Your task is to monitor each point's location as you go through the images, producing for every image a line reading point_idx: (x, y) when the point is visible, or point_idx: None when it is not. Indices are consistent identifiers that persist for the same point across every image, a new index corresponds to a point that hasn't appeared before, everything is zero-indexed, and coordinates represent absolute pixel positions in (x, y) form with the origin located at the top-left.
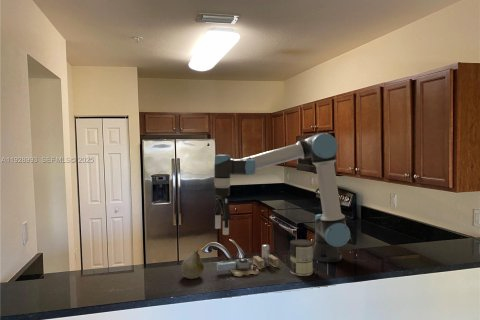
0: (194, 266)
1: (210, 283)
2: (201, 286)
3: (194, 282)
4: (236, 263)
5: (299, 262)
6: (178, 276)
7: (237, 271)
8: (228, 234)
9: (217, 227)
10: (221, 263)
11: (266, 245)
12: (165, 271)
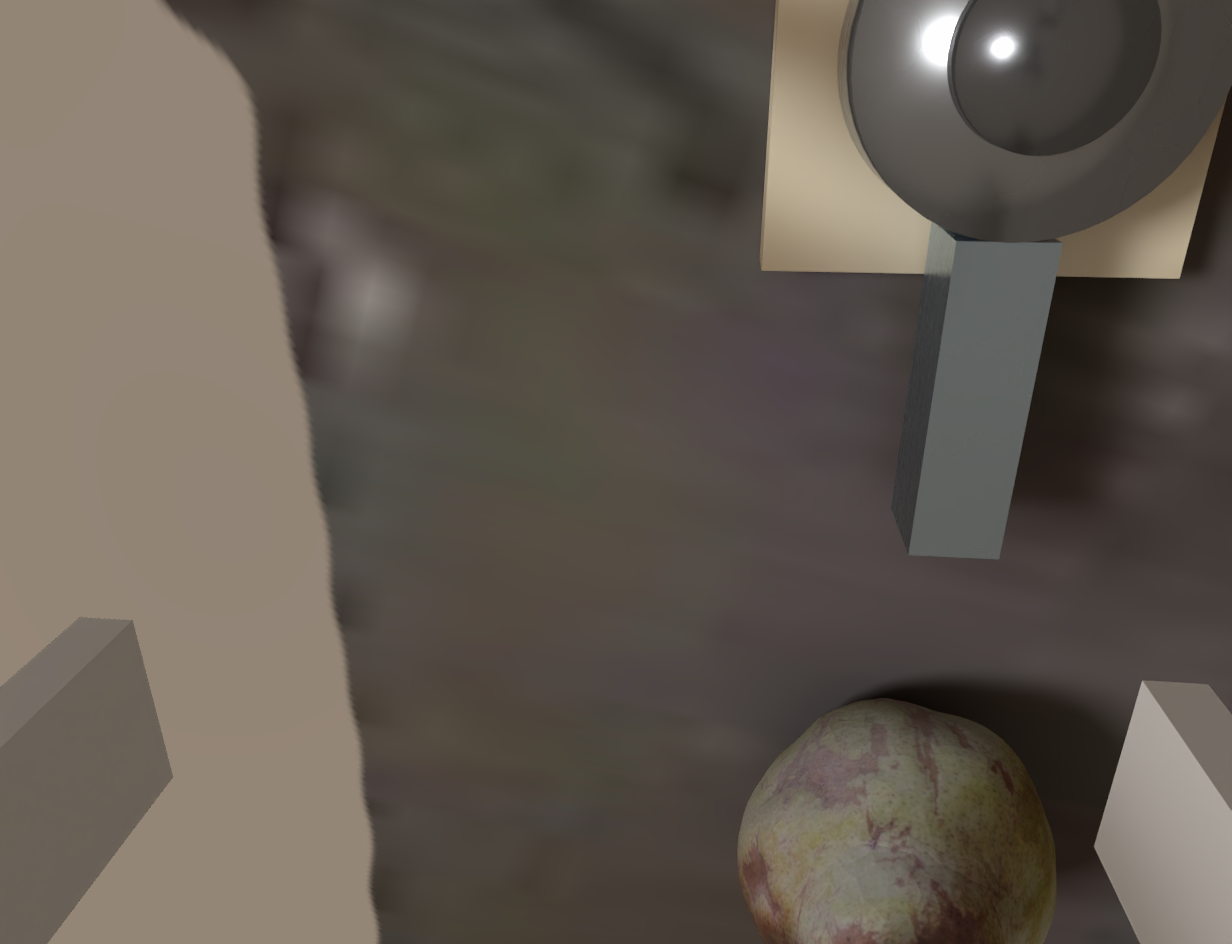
0: (1052, 908)
1: (1188, 643)
2: None
3: (1047, 775)
4: (1072, 230)
5: None
6: None
7: (1110, 218)
8: (1205, 694)
9: (132, 747)
10: (952, 487)
11: None
12: (561, 918)
